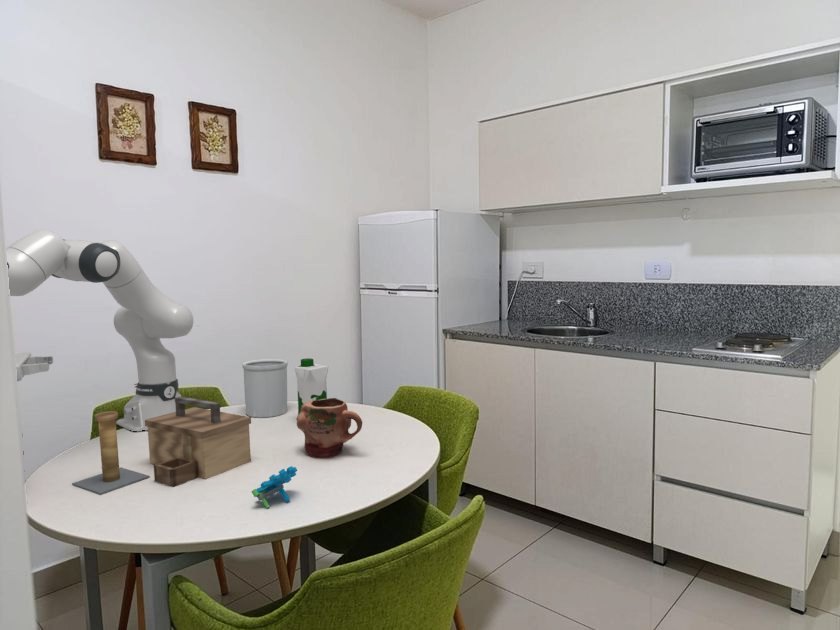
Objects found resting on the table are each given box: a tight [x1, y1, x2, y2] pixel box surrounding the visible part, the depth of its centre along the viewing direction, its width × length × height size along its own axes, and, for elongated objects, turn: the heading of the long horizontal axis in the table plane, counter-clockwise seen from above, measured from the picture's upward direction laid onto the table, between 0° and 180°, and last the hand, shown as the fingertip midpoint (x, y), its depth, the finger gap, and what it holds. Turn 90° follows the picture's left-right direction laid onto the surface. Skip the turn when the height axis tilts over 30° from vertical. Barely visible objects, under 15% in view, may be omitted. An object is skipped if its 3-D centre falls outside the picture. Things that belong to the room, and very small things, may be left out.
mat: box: [71, 467, 150, 496], centre depth 140 cm, size 12×12×1 cm
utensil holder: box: [242, 358, 288, 419], centre depth 199 cm, size 15×15×18 cm
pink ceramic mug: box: [296, 397, 363, 459], centre depth 156 cm, size 20×12×14 cm, turn 72°
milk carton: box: [294, 357, 329, 416], centre depth 187 cm, size 9×9×20 cm
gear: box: [251, 465, 298, 509], centre depth 126 cm, size 11×6×10 cm
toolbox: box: [145, 395, 252, 488], centre depth 148 cm, size 23×21×16 cm
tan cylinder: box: [94, 410, 120, 482], centre depth 139 cm, size 5×5×16 cm
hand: (50, 363), depth 133 cm, fingers open, 8 cm apart
